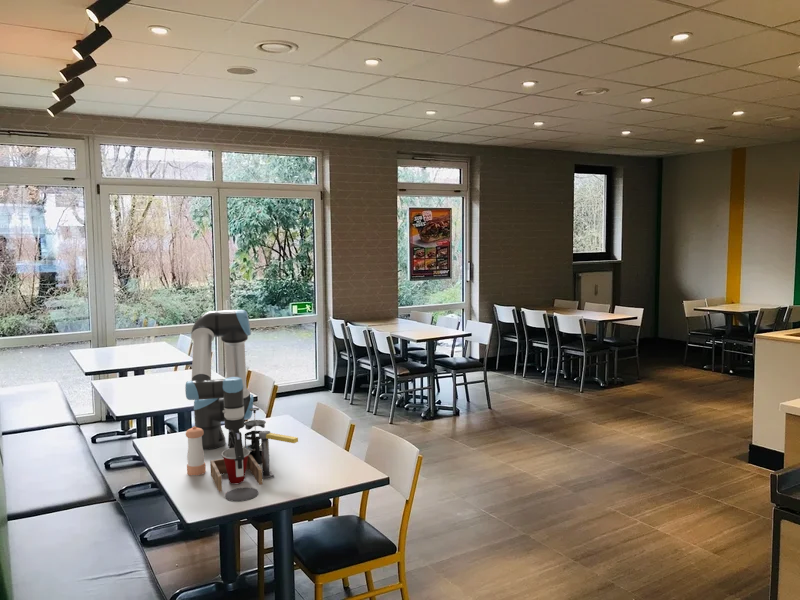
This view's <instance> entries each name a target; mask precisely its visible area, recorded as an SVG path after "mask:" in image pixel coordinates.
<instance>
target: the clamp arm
mask: <svg viewBox="0 0 800 600" xmlns="http://www.w3.org/2000/svg"><path fill="white" fill-rule="evenodd" d="M260 431H261V432H259V434H258V436H259V438H260V439H259V440H261V439H268V440H274V441H279V442H285V443H290V444H296V443H299V437H297V436H291V435H285V434H278V433H273V432H271V431H270V430H260Z"/></svg>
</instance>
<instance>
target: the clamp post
mask: <svg viewBox="0 0 800 600" xmlns="http://www.w3.org/2000/svg"><path fill="white" fill-rule="evenodd" d="M260 441H261V443H260V444H261V446H262V464H261V467H262V468H261V469H262V480H268V479H273V478H275V474H274V473H273V472H272V471H270V447H269V446H270V443H269V441H270V440H269V439H260Z"/></svg>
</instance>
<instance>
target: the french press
mask: <svg viewBox="0 0 800 600" xmlns="http://www.w3.org/2000/svg"><path fill="white" fill-rule="evenodd" d="M249 410H250V411H252V414H253V415H254V416H253V417H254V418H253V420H251V419H250V420H247V421H244V423H245V426H244V427H245V430H247V431H249V432H245V434H244V448H246V449H248V450H249V451H250V453H249V455H250V454H251V455H252V456H253V458H254V459H255V461H256V462H257V463H258V465H262V446H261V443H260V440H261V439H260V438H259V432H261V431H262V430H257V427H261V428H262V429H264V428H265V427H266V426H265V424H266V420H263V419H256V413H257V411H259V410H260V408H259V407H253V408H251V409H249ZM253 428H254V430H251V429H253ZM250 430H251V431H250ZM257 435H258V436H257ZM247 440H249V441H250V442H251V444H248V445H247Z"/></svg>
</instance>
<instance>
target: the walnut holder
mask: <svg viewBox="0 0 800 600" xmlns="http://www.w3.org/2000/svg"><path fill="white" fill-rule="evenodd" d="M209 464H210V476H211V479H212V480H213V483H214V485H215V487H216V489H217V491H218V492H219V493H222V492H223V483H222V482H223V480H222V475H225V474H226V475H228V474H227V471H226V466H225V462H224V458H217V459H212V460H210V461H209ZM261 467H262V466H260V464H258V463H257V462H256V461H255V459H254V458H253V456H252V455H251V454H250V455H248V459H247V466H246V471H249V472H250V473H251V475H252V477H254V479H255V481H256V482H257V484H258V485H259V486H262V485H263V479H262V473H263V472H262V468H261Z"/></svg>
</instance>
